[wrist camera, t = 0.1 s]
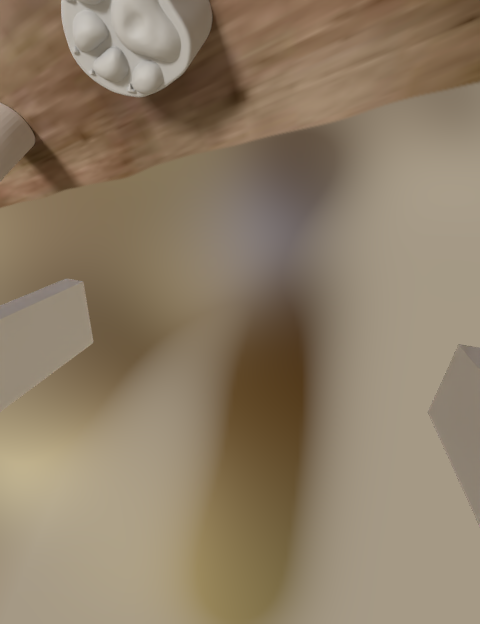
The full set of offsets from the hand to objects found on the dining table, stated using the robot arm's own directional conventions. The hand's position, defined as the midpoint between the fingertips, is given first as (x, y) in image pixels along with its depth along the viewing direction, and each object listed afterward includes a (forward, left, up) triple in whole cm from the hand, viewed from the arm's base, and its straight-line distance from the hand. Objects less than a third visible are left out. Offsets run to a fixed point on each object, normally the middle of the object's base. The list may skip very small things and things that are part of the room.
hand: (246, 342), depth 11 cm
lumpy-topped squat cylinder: (-8, -17, -36) cm, 41 cm away
